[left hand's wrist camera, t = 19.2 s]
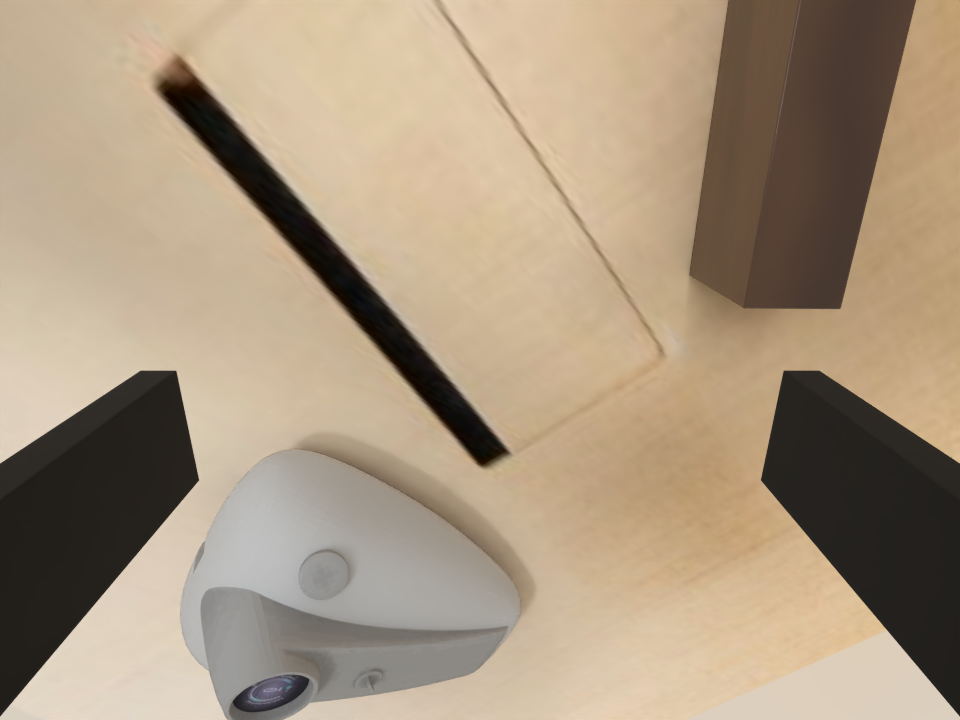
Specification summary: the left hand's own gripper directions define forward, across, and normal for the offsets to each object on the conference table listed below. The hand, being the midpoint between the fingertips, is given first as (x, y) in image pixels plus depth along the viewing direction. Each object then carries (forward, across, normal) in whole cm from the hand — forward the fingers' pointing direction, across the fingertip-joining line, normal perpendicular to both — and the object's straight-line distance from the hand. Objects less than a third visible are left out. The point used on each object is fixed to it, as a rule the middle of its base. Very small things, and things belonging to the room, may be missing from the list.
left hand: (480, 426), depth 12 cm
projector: (+25, -8, -24) cm, 35 cm away
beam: (+25, +16, +11) cm, 31 cm away
